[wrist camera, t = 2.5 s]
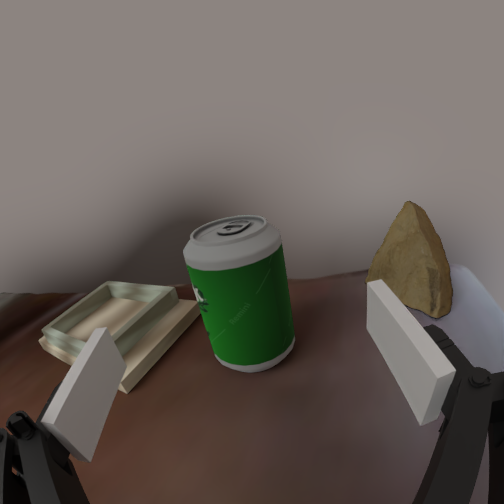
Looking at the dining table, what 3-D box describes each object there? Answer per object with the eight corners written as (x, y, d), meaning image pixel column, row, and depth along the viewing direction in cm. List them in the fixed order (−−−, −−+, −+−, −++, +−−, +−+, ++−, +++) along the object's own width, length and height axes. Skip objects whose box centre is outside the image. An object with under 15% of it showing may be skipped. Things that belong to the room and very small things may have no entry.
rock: (481, 296, 22) (446, 244, 31) (449, 239, 20) (411, 193, 28) (395, 354, 27) (380, 294, 36) (350, 312, 25) (339, 253, 33)
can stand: (43, 349, 31) (31, 327, 29) (108, 297, 42) (100, 278, 41) (127, 393, 23) (110, 366, 22) (201, 311, 35) (194, 286, 33)
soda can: (307, 332, 28) (293, 210, 23) (275, 388, 22) (247, 249, 17) (241, 321, 32) (215, 213, 27) (200, 367, 26) (158, 246, 21)
